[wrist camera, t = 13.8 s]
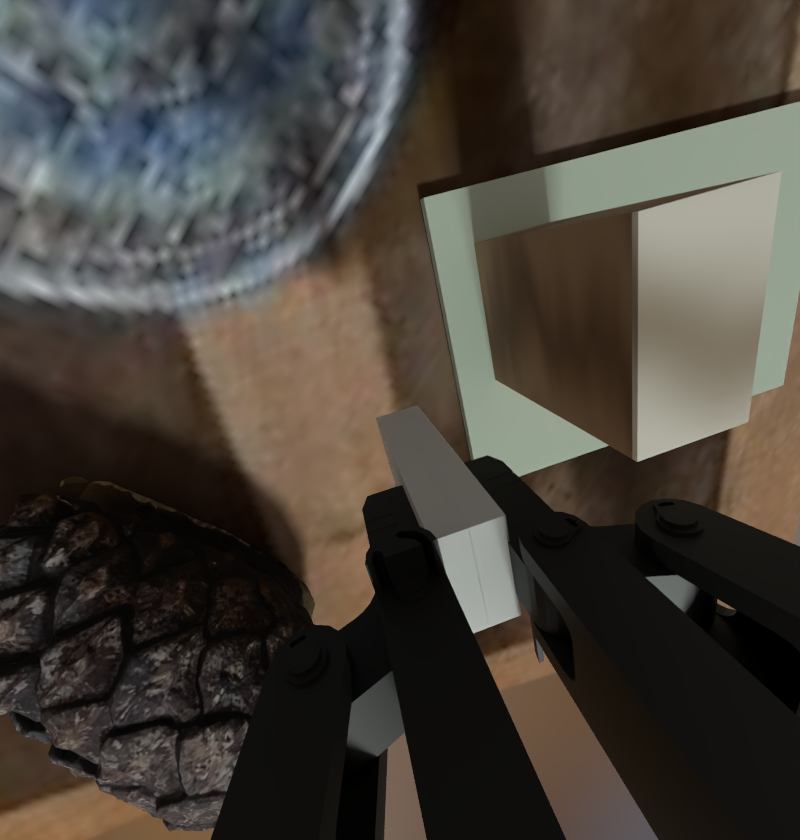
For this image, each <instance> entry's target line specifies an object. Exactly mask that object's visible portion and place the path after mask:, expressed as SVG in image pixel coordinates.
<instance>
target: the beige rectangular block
mask: <svg viewBox="0 0 800 840" xmlns="http://www.w3.org/2000/svg"><path fill="white" fill-rule="evenodd" d="M781 174H782V171H779V172H775V173H770V174H766V175H761V176H756V177H752V178H747V179H743V180H738V181H734V182H729V183H725V184H720V185H716V186H711V187H707V188H702V189H698V190H693V191H689V192H684V193H679V194H675V195H670V196H666V197H661V198H657V199H652V200H648V201H643V202H639V203H634V204H630V205H625V206H621V207H616V208H611V209H607V210H602V211H598V212H593V213H589V214H584V215H580V216H575V217H571V218H566V219H562V220H557V221H553V222H549V223H545V224H541V225H538V226H534V227H531V228H527V229H523V230H520V231H516V232H513V233H509V234H505V235H502V236H498V237H495V238H491V239H488V240H484V241H480V242H477V243H474V247H475V253H476V260H477V266H478V273H479V279H480V285H481V292H482V298H483V305H484V311H485V317H486V324H487V330H488V337H489V343H490V350H491V356H492V362H493V369H494V375H495V380H497V381H498V382H500V383H502V384H503V385H505V386H507V387H509V388H510V389H512V390H514V391H516V392H517V393H519V394H521V395H523V396H524V397H526V398H528V399H530V400H531V401H533V402H535V403H536V404H538V405H540V406H542V407H543V408H545V409H547V410H549V411H550V412H552V413H554V414H556V415H557V416H559V417H561V418H562V419H564V420H566V421H568V422H569V423H571V424H573V425H575V426H576V427H578V428H580V429H582V430H583V431H585V432H587V433H588V434H590V435H592V436H594V437H595V438H597V439H599V440H601V441H602V442H604V443H606V444H608V445H609V446H611V447H613V448H614V449H616V450H618V451H620V452H621V453H623V454H625V455H627V456H628V457H630V458H632V459H634V460H635V461H637V462H638V461H641V460H644V459H646V458H649V457H652V456H655V455H658V454H660V453H663V452H666V451H669V450H672V449H674V448H677V447H680V446H683V445H685V444H688V443H691V442H694V441H697V440H699V439H702V438H705V437H708V436H711V435H713V434H716V433H719V432H722V431H725V430H727V429H730V428H733V427H736V426H739V425H741V424H744V423H747V422H748V420H749V412H750V405H751V398H752V390H753V383H754V375H755V368H756V360H757V353H758V345H759V338H760V331H761V323H762V316H763V308H764V301H765V293H766V286H767V278H768V271H769V263H770V256H771V249H772V241H773V234H774V226H775V219H776V211H777V204H778V196H779V189H780V181H781Z"/></svg>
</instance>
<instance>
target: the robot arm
mask: <svg viewBox="0 0 800 840" xmlns="http://www.w3.org/2000/svg"><path fill="white" fill-rule="evenodd" d="M376 420H377V423H378V427H379V430H380V433H381V437H382V440H383V444H384V447H385V451H386V454H387V457H388V461H389V464H390V468H391V471H392V475H393V478H394V481H395V485H396V487H394V488H391V489H388V490H385V491H382V492H379V493H376V494H373V495H370V496H367V499H366V501H365V504H364V506H363V509H362V511H363V515H364V520H365V524H366V530H367V534H368V539H369V544H370V548H369V550H368V551H367V553H366V561H365V565H366V568H367V571H368V574H369V576H370V579H371V582H372V584H373V587H374V590H375V595H374V597H373V599H372V601H371V603H370V604H369V605H368V607H367V608H366V609H365V610H364V612H363V613H361V614H360V615H359V616H358V617H357V618H355V619H354V620H353V621H351V622H350V623H349V624H347V625H346V626H344V627H343V628H342V629H340V630H339V631H338V630H336V629H334V628H332V627H330V626H325V625H315V626H312V627H309V628H306V629H303V630H300V631H299V632H298V633H296V634H295V635H293V636H292V637H290V638H289V639H287V640H286V642H285V643H284V644H283V645H282V646H281V647H280V648H279V649H278V651H277V652H276V653H275V655H274V657H273V659H272V661H271V663H270V665H269V667H268V670H267V673H266V676H265V679H264V681H263V684H262V687H261V690H260V693H259V696H258V699H257V702H256V705H255V708H254V711H253V714H252V717H251V720H250V723H249V726H248V729H247V732H246V735H245V738H244V741H243V744H242V747H241V750H240V753H239V756H238V759H237V762H236V765H235V768H234V771H233V774H232V777H231V780H230V783H229V786H228V789H227V792H226V795H225V798H224V801H223V804H222V807H221V810H220V813H219V816H218V819H217V822H216V825H215V828H214V831H213V834H212V837H211V840H384V825H385V824H384V823H385V800H386V776H387V750H388V747H389V746H390V745H391V744H392V743H393V742H394V741H395V740H397V739H398V738H399V737H400V736H401V735H402V734H403V733H404V732H405V735H406V740H407V744H408V749H409V754H410V759H411V764H412V769H413V774H414V779H415V784H416V789H417V794H418V799H419V803H420V808H421V812H422V818H423V823H424V828H425V833H426V838H427V840H566V838H565V836H564V834H563V832H562V829H561V827H560V825H559V823H558V821H557V818H556V816H555V814H554V812H553V809H552V807H551V805H550V803H549V800H548V798H547V796H546V794H545V792H544V789H543V787H542V785H541V783H540V781H539V779H538V776H537V774H536V772H535V770H534V767H533V765H532V763H531V761H530V759H529V756H528V754H527V752H526V749H525V747H524V745H523V743H522V741H521V739H520V736H519V734H518V732H517V730H516V727H515V725H514V723H513V721H512V718H511V716H510V714H509V712H508V710H507V707H506V705H505V703H504V701H503V698H502V696H501V694H500V692H499V690H498V687H497V685H496V683H495V681H494V678H493V676H492V674H491V672H490V670H489V667H488V665H487V663H486V661H485V659H484V656H483V654H482V652H481V650H480V647H479V645H478V643H477V641H476V639H475V636H474V634H473V633H475V632H478V631H481V630H483V629H486V628H488V627H491V626H494V625H496V624H499V623H502V622H504V621H507V620H509V619H512V618H515V617H517V616H520V615H521V609H520V603H519V599H520V600H521V602H522V604H523V605H524V607H525V608H526V610H527V611H528V613H529V615H530V619H531V626H532V633H533V639H534V646H535V652H536V655H537V658H538V661H539V663H540V662H542V661H544V656H543V651H544V653H545V654H546V656H547V658H548V659H549V661H550V662H551V664H552V666H553V667H554V669H555V671H556V672H557V674H558V675H559V677H560V679H561V680H562V682H563V684H564V685H565V687H566V689H567V690H568V692H569V693H570V695H571V697H572V698H573V700H574V702H575V703H576V705H577V707H578V708H579V710H580V712H581V713H582V715H583V717H584V718H585V720H586V721H587V723H588V725H589V726H590V728H591V730H592V731H593V733H594V734H595V736H596V738H597V739H598V741H599V743H600V744H601V746H602V748H603V749H604V751H605V753H606V754H607V756H608V757H609V759H610V761H611V762H612V764H613V766H614V767H615V769H616V771H617V772H618V774H619V776H620V777H621V779H622V780H623V782H624V784H625V785H626V787H627V789H628V790H629V792H630V794H631V795H632V797H633V798H634V800H635V802H636V803H637V805H638V807H639V808H640V810H641V812H642V813H643V815H644V817H645V818H646V820H647V822H648V823H649V825H650V826H651V828H652V830H653V831H654V833H655V835H656V836H657V838H658V839H659V840H800V546H797V545H795V544H792V543H790V542H788V541H785V540H783V539H780V538H778V537H776V536H773V535H771V534H768V533H766V532H764V531H761V530H759V529H756V528H754V527H752V526H749V525H747V524H744V523H742V522H740V521H737V520H735V519H733V518H730V517H728V516H725V515H723V514H721V513H718V512H716V511H713V510H711V509H709V508H706V507H704V506H701V505H698V504H695V503H692V502H688V501H685V500H676V499H660V500H652V501H650V502H647V503H645V504H642V505H641V506H640V507H639V509H638V510H637V511H636V513H635V524H625V525H614V526H597V527H592V526H589V525H588V524H587V523H586V522H584V521H582V520H581V519H579V518H578V517H576V516H574V515H571V514H567V513H564V512H554V511H553V510H552V509H551V508H550V507H549V506H548V505H547V504H546V503H545V502H544V501H543V500H542V499H541V498H540V497H539V496H538V495H537V494H536V493H535V492H534V491H533V490H532V489H531V488H530V487H529V486H527V485H526V484H525V483H524V482H523V481H521V479H520V478H519V477H518V476H517V475H516V474H515V473H513V471H512V470H511V469H510V468H509V467H508V466H507V465H506V464H505V463H504V462H503V461H501V460H498V459H496V458H493V457H491V456H488V455H486V456H483V457H480V458H477V459H474V460H471V461H468V462H465V463H463V461H462V460H461V459H460V458H459V456H458V455H457V454H456V453H455V451H454V450H453V449H452V448H451V446H450V445H449V444H448V443H447V441H446V440H445V439H444V438H443V436H442V435H441V434H440V433H439V431H438V430H437V429H436V428H435V426H434V425H433V424H432V423H431V421H430V420H429V419H428V418H427V417H426V415H425V414H424V413H423V412H422V410H421V409H420V408H419V407H418V405H417V406H413V407H410V408H407V409H404V410H401V411H397V412H394V413H391V414H388V415H384V416H381V417H378V418H376ZM717 599H719V600H720V601H722V602H724V603H726V604H727V605H729V606H731V607H732V608H734V609H736V610H732V609H728V608H725V607H723V606H721V605H719V604H718V603H717Z"/></svg>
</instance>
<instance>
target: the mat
mask: <svg viewBox="0 0 800 840" xmlns="http://www.w3.org/2000/svg"><path fill="white" fill-rule="evenodd" d="M779 171H782V174H781V181H780V189H779V196H778V204H777V211H776V219H775V226H774V234H773V241H772V249H771V256H770V263H769V271H768V278H767V286H766V293H765V301H764V308H763V316H762V323H761V331H760V338H759V345H758V353H757V360H756V368H755V375H754V383H753V390H752V396H753V395H756V394H759V393H762V392H765V391H768V390H771V389H774V388H776V387H779V386H782V385H783V384H784V378H785V372H786V366H787V360H788V355H789V349H790V343H791V337H792V331H793V326H794V320H795V314H796V308H797V302H798V297H799V291H800V102H796V103H792V104H788V105H784V106H780V107H776V108H772V109H768V110H764V111H761V112H757V113H753V114H749V115H745V116H741V117H737V118H733V119H729V120H725V121H721V122H718V123H714V124H710V125H706V126H702V127H698V128H694V129H690V130H686V131H682V132H679V133H675V134H671V135H667V136H663V137H659V138H655V139H651V140H647V141H643V142H640V143H636V144H632V145H628V146H624V147H620V148H616V149H612V150H608V151H604V152H600V153H597V154H593V155H589V156H585V157H581V158H577V159H573V160H569V161H565V162H561V163H558V164H554V165H550V166H546V167H542V168H538V169H534V170H530V171H526V172H522V173H519V174H515V175H511V176H507V177H503V178H499V179H495V180H491V181H487V182H483V183H479V184H476V185H472V186H468V187H464V188H460V189H456V190H452V191H448V192H444V193H440V194H437V195H433V196H429V197H425V198H423V199H421V200H420V202H421V207H422V212H423V217H424V223H425V228H426V233H427V238H428V243H429V248H430V253H431V258H432V263H433V269H434V274H435V279H436V284H437V289H438V294H439V299H440V304H441V309H442V315H443V320H444V325H445V330H446V335H447V340H448V345H449V350H450V355H451V361H452V366H453V371H454V376H455V381H456V386H457V391H458V396H459V401H460V407H461V412H462V417H463V422H464V427H465V432H466V437H467V442H468V447H469V453H470V458H471V460H474V459H477V458H480V457H483V456H486V455H488V456H491V457H493V458H496V459H498V460H501V461H503V462H504V463H505V464H506V465H507V466H508V467H509V468H510V469H511V470H512V471H513V473H515V474H516V475H517V476H518V477H519V476H522V475H525V474H527V473H530V472H533V471H536V470H539V469H542V468H545V467H548V466H551V465H554V464H556V463H559V462H562V461H565V460H568V459H571V458H574V457H577V456H580V455H582V454H585V453H588V452H591V451H594V450H597V449H600V448H603V447H606V446H609V445H608V444H606V443H604V442H602V441H601V440H599V439H597V438H595V437H594V436H592V435H590V434H588V433H587V432H585V431H583V430H582V429H580V428H578V427H576V426H575V425H573V424H571V423H569V422H568V421H566V420H564V419H562V418H561V417H559V416H557V415H556V414H554V413H552V412H550V411H549V410H547V409H545V408H543V407H542V406H540V405H538V404H536V403H535V402H533V401H531V400H530V399H528V398H526V397H524V396H523V395H521V394H519V393H517V392H516V391H514V390H512V389H510V388H509V387H507V386H505V385H503V384H502V383H500V382H498V381H497V380H495V375H494V369H493V362H492V356H491V350H490V343H489V337H488V330H487V324H486V317H485V311H484V305H483V298H482V292H481V285H480V279H479V273H478V266H477V260H476V253H475V247H474V243H477V242H480V241H484V240H488V239H491V238H495V237H498V236H502V235H505V234H509V233H513V232H516V231H520V230H523V229H527V228H531V227H534V226H538V225H541V224H545V223H549V222H553V221H557V220H562V219H566V218H571V217H575V216H580V215H584V214H589V213H593V212H598V211H602V210H607V209H611V208H616V207H621V206H625V205H630V204H634V203H639V202H643V201H648V200H652V199H657V198H661V197H666V196H670V195H675V194H679V193H684V192H689V191H693V190H698V189H702V188H707V187H711V186H716V185H720V184H725V183H729V182H734V181H738V180H743V179H747V178H752V177H756V176H761V175H766V174H770V173H775V172H779Z"/></svg>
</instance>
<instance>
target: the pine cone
mask: <svg viewBox="0 0 800 840" xmlns="http://www.w3.org/2000/svg"><path fill="white" fill-rule="evenodd" d="M67 483H89V482H88V481H87V480H86V479H85V478H84V477H76V476H70V477H65V478H64V479H63V480H62V481H61V482H60V487H61V486H63V485H64V484H67ZM157 505H158V506H159V507H160V508H158V506H157ZM314 605H315V604H314V602H313V600H312V598H311V596H310V593H309V592H308V590H307V588H306V587H305V586H304V585H303V584H302V583H301V582H300V581H299V580H298V578H297V577H296V576H295V575H294V574H293V573H292V572H291V571H290V570H289V569H288V568H287V567H286V566H285V565H284V564H282V563H280V562H278V561H277V560H275V559H274V558H272V557H271V556H268V555H266V554H264V553H262V552H260V551H259V550H257V549H256V548H254V547H252V546H251V545H249V544H248V543H246V542H244V541H243V540H241V539H239V538H237V537H236V536H234V535H232V534H230V533H229V532H227V531H225V530H223V529H221V528H219V527H216V526H213V525H211V524H208V523H205V522H203V521H200V520H198V519H195V518H193V517H190V516H188V515H186V514H184V513H182V512H180V511H178V510H175V509H173V508H171V507H168V506H166V505H164V504H162V503H159V502H157V501H155V500H152V499H150V498H147V497H144V496H141V495H139V494H137V493H135V492H132V491H130V490H128V489H125V488H123V487H121V486H118V485H116V484H113V483H111V482H105V481H95V482H91V483H89V484H88V486H87V487H86V489H85V490H84V491H83V493H82V494H81V496H80V498H79V499H78V498H74V497H71V496H58V495H54V494H51V493H45V494H26V495H21V496H20V497H19V498H18V500H17V501H16V503H15V505H14V507H13V510H12V512H11V514H10V517H9V519H8V521H7V524H4V525H0V715H2V714H5V713H8V714H9V717H10V719H11V721H12V723H13V725H14V727H15V728H16V730H17V731H18V732H19V733H20V734H23V735H24V736H26V737H27V738H29V739H38V740H40V741H42V742H43V743H45V744H52V745H51V748H50V750H49V753H48V754H49V757H50V759H51V761H52V763H54V764H58V765H61V766H64V767H68V768H69V769H70V772H71V774H73V775H74V776H76V777H77V778H80V777H83V776H84V777H90V778H92V779H94V780H96V783H97V785H98V787H99V789H100V791H103V792H105V793H108V794H111V795H113V796H115V797H116V798H117V799H120V800H123V801H125V802H126V803H128V804H131V805H133V806H136V807H137V808H139V809H142V810H143V811H147V812H149V813H150V814H151V815H152V816H153V817H155V818H161V819H163V823H164V825H165V826H166V827H167V828H168V830H169V831H172V830H185V831H206V830H208V829H211V828H215V825H216V822H217V819H218V816H219V813H220V810H221V807H222V804H223V801H224V798H225V795H226V792H227V789H228V786H229V783H230V780H231V777H232V774H233V771H234V768H235V765H236V762H237V759H238V756H239V753H240V750H241V747H242V744H243V741H244V738H245V735H246V732H247V729H248V726H249V723H250V720H251V717H252V714H253V711H254V708H255V705H256V702H257V699H258V696H259V693H260V690H261V687H262V684H263V681H264V679H265V676H266V673H267V670H268V667H269V665H270V663H271V661H272V659H273V657H274V655H275V653H276V652H277V651H278V649H279V648H280V647H281V646H282V645H283V644H284V643H285V642H286V640H287V639H289V638H290V637H292V636H293V635H295V634H296V633H298V632H299V631H300V630H303V629H306V628H309V627H312V626H315V625H314V624H313V622H312V619H311V617H312V613H313V609H314Z"/></svg>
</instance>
